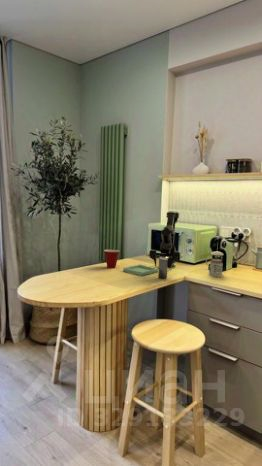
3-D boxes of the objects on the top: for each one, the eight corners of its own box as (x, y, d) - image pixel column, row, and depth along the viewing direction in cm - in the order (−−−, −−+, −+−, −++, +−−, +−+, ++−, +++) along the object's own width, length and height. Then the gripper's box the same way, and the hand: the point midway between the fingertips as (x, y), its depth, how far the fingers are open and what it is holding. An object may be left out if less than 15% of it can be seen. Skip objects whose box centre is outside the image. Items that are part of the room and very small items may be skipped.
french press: (225, 276, 202) (228, 237, 199) (207, 276, 202) (209, 237, 199) (220, 273, 212) (223, 235, 209) (203, 272, 212) (205, 235, 209)
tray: (139, 267, 219) (139, 264, 219) (158, 272, 208) (158, 268, 208) (123, 271, 207) (123, 268, 207) (142, 276, 197) (142, 272, 196)
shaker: (161, 276, 198) (162, 255, 196) (168, 278, 194) (169, 257, 192) (156, 277, 193) (157, 256, 192) (163, 279, 190) (164, 258, 188)
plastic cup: (120, 266, 222) (120, 249, 221) (118, 269, 211) (118, 251, 210) (104, 265, 223) (105, 248, 222) (101, 268, 212) (102, 250, 211)
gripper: (150, 236, 197) (146, 257, 188) (180, 238, 193) (178, 260, 184) (152, 247, 206) (148, 268, 197) (181, 249, 202) (178, 270, 192)
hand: (163, 266), depth 192 cm, fingers open, 9 cm apart
